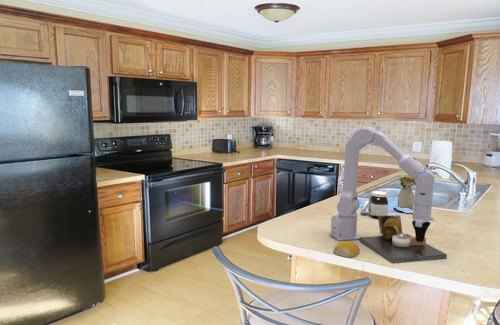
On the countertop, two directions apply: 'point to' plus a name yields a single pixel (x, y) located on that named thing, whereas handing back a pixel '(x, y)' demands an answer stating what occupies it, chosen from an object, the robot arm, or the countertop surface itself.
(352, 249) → the bread roll
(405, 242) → the collar
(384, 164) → the countertop surface
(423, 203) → the robot arm
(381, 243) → the base
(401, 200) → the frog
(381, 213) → the spread jar
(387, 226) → the condiment
